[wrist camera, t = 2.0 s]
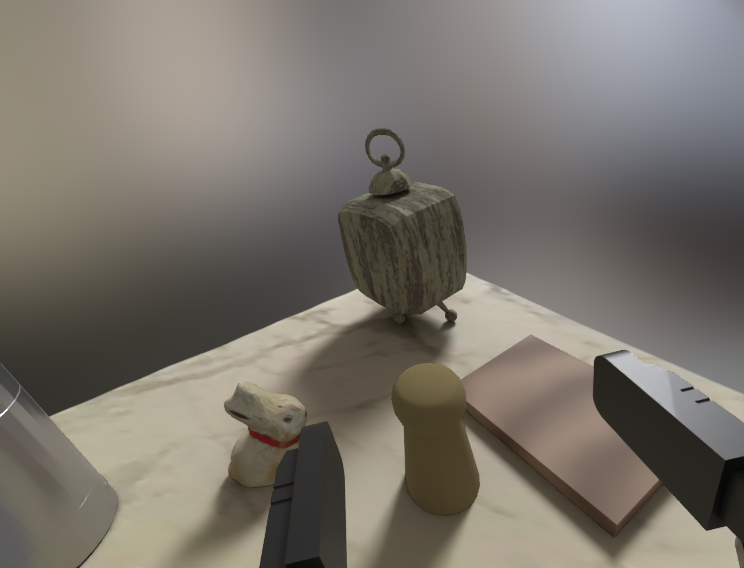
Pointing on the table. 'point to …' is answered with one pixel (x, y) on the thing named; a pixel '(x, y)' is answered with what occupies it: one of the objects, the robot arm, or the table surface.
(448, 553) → the table surface
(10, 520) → the robot arm
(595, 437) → the walnut board
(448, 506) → the cork
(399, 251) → the tabletop clock
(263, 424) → the chocolate bunny
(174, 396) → the table surface
